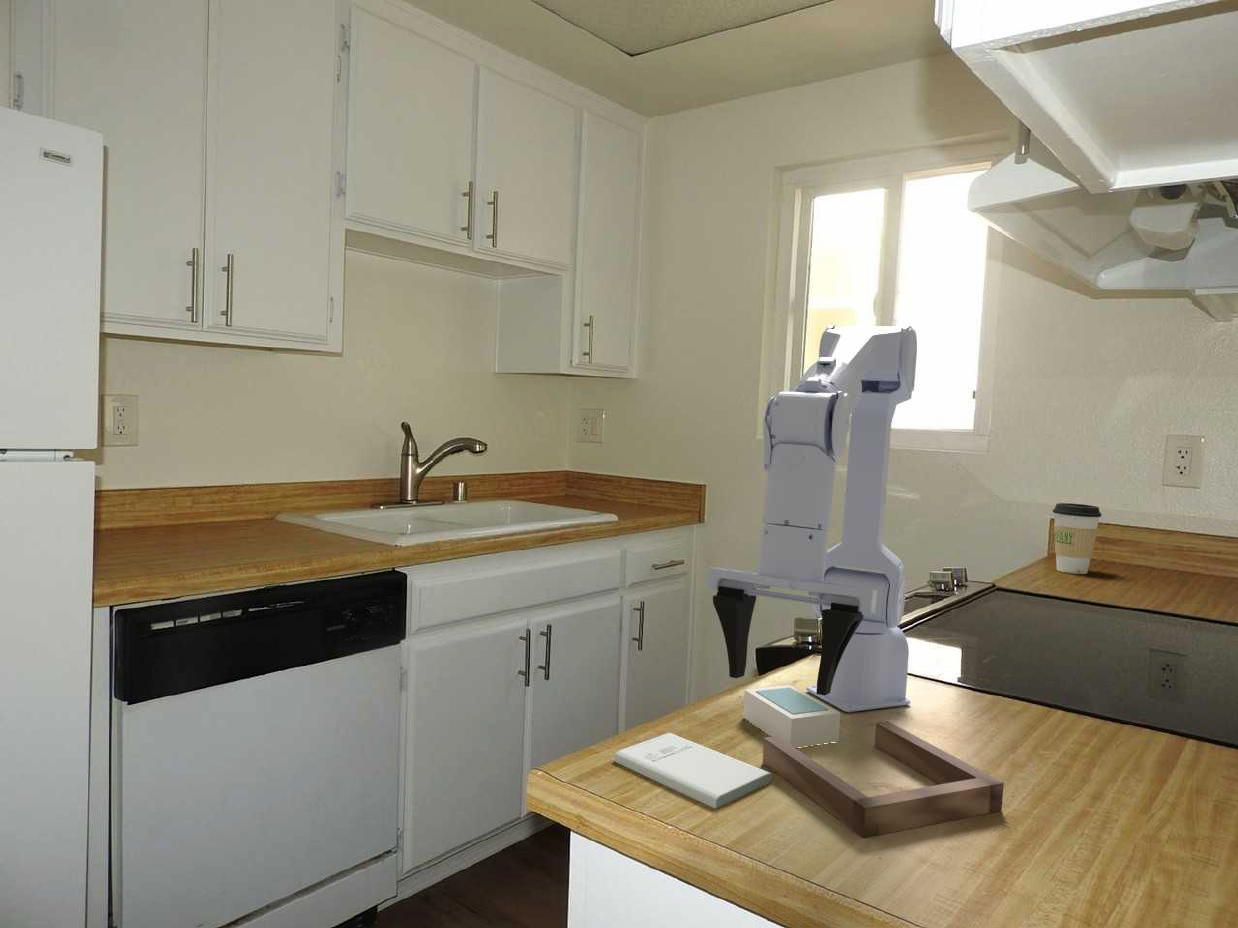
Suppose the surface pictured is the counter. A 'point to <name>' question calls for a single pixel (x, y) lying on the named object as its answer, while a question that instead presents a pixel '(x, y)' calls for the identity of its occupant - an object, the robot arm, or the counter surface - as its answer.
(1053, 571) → the counter surface
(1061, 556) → the coffee cup
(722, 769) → the external hard drive
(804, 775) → the frame
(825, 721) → the card box
